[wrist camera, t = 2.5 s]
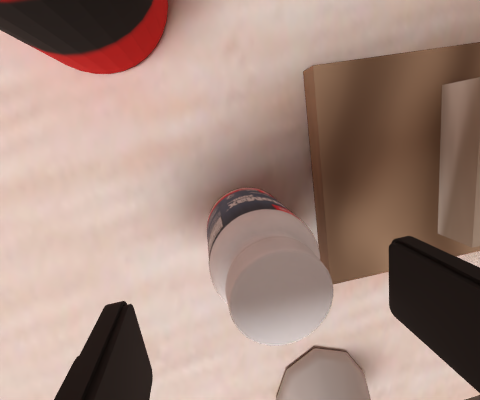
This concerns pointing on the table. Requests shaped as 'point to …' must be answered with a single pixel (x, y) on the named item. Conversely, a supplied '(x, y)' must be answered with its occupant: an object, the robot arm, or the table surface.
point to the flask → (324, 378)
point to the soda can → (87, 30)
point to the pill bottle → (267, 268)
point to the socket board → (394, 155)
